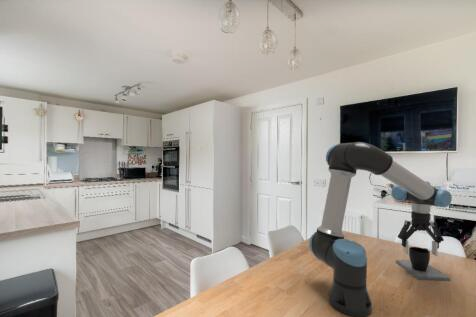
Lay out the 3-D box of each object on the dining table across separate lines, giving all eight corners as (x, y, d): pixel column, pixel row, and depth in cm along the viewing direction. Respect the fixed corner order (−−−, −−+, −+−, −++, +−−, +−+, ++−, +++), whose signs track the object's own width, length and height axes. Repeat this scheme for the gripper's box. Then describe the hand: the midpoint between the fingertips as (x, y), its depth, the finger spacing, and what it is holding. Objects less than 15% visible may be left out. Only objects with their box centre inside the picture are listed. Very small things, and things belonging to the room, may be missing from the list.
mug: (437, 268, 116) (437, 249, 116) (424, 274, 111) (424, 254, 111) (418, 262, 124) (418, 244, 124) (405, 267, 118) (405, 248, 118)
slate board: (450, 280, 107) (450, 278, 107) (418, 279, 109) (418, 276, 109) (423, 263, 125) (423, 260, 125) (395, 262, 126) (395, 259, 126)
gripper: (441, 211, 119) (440, 252, 119) (390, 209, 122) (389, 249, 122) (453, 214, 112) (453, 258, 112) (398, 212, 114) (398, 255, 114)
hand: (420, 253), depth 117 cm, fingers open, 13 cm apart
